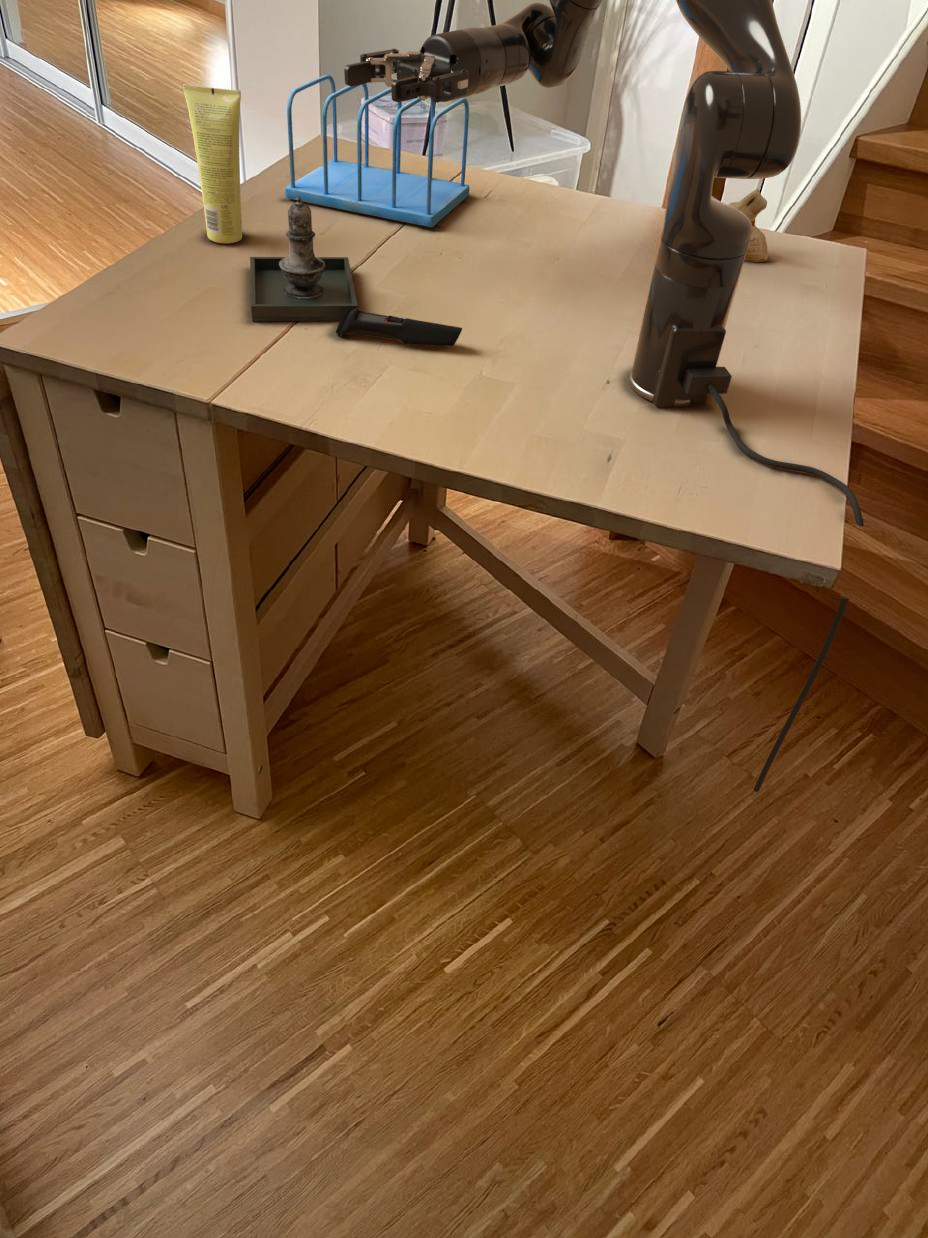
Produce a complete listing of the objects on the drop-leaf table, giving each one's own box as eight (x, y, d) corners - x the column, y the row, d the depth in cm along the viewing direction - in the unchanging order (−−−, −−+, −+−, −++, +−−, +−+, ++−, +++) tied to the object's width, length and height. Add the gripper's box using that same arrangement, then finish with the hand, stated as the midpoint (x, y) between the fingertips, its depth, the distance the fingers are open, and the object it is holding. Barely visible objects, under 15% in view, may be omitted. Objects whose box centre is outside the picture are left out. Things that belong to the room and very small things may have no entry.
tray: (358, 320, 117) (358, 305, 116) (252, 321, 115) (250, 306, 113) (348, 271, 128) (348, 256, 126) (251, 271, 125) (250, 256, 124)
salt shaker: (275, 283, 122) (268, 189, 114) (317, 279, 124) (314, 185, 116) (288, 302, 118) (282, 206, 110) (331, 297, 120) (329, 202, 112)
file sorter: (469, 196, 153) (477, 93, 142) (432, 231, 141) (437, 121, 130) (332, 169, 158) (330, 67, 147) (284, 200, 146) (278, 91, 135)
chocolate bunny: (734, 242, 147) (752, 176, 140) (771, 260, 142) (791, 193, 135) (709, 247, 144) (727, 180, 137) (746, 266, 140) (766, 198, 133)
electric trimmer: (457, 358, 112) (459, 334, 110) (334, 337, 113) (333, 312, 111) (462, 344, 115) (465, 320, 113) (342, 324, 116) (342, 300, 114)
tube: (235, 228, 136) (221, 79, 122) (253, 240, 133) (240, 89, 120) (200, 235, 133) (182, 83, 120) (217, 247, 130) (201, 93, 117)
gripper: (425, 19, 120) (329, 36, 112) (505, 41, 113) (410, 60, 105) (424, 83, 125) (332, 104, 117) (501, 108, 119) (410, 132, 110)
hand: (369, 83), depth 111 cm, fingers open, 8 cm apart
